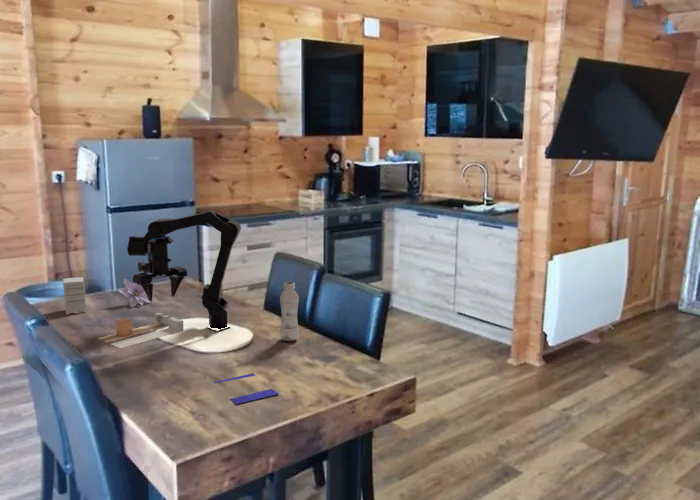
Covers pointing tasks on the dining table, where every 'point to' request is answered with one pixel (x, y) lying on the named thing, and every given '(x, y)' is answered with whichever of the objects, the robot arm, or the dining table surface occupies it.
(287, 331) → the plastic bottle
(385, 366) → the dining table surface
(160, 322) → the birch strip
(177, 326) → the grey strip
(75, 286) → the miniature chest of drawers
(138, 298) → the water lily
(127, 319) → the rounded peach dome
